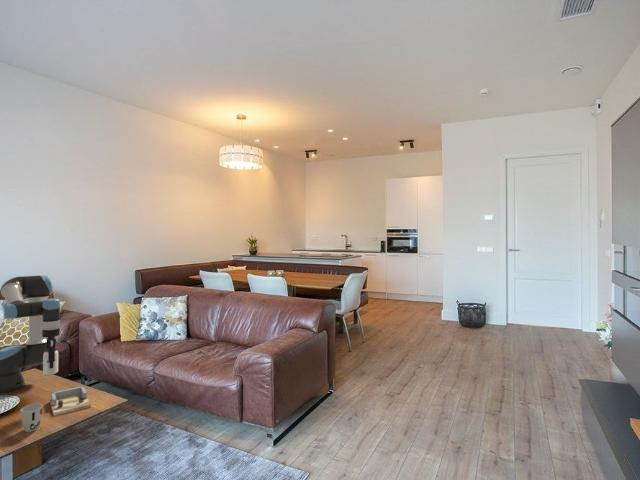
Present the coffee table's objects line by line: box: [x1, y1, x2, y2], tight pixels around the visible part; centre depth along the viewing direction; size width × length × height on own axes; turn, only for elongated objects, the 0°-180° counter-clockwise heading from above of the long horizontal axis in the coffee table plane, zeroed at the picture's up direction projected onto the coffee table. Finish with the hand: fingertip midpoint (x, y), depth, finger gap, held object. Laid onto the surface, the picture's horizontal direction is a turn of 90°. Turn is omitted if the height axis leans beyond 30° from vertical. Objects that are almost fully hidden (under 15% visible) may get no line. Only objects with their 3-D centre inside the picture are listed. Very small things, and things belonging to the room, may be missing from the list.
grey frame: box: [50, 385, 88, 405], centre depth 203 cm, size 11×15×3 cm
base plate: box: [49, 393, 92, 417], centre depth 199 cm, size 20×16×4 cm
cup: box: [20, 403, 44, 433], centre depth 174 cm, size 8×8×10 cm
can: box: [42, 348, 59, 376], centre depth 197 cm, size 6×6×12 cm
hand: (50, 372), depth 197 cm, fingers closed on can, 6 cm apart
